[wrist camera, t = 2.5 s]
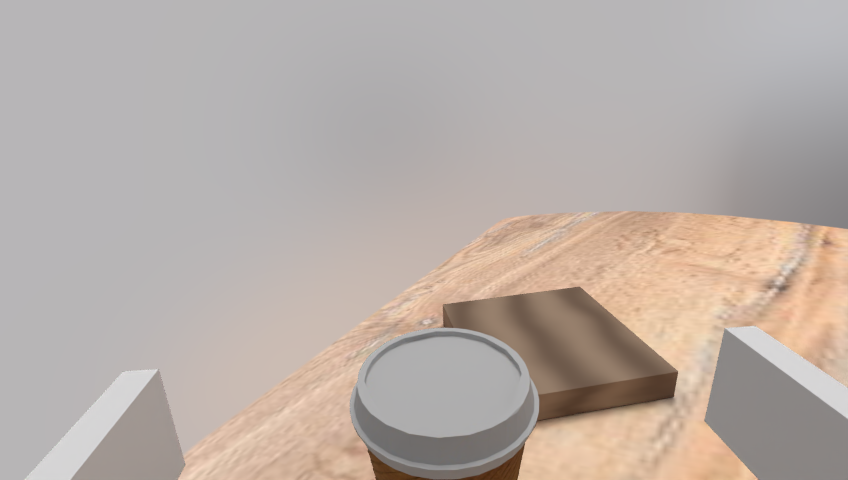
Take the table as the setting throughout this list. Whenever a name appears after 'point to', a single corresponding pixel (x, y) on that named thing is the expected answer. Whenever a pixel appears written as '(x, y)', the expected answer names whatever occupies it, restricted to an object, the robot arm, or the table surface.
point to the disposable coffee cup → (444, 407)
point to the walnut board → (570, 350)
